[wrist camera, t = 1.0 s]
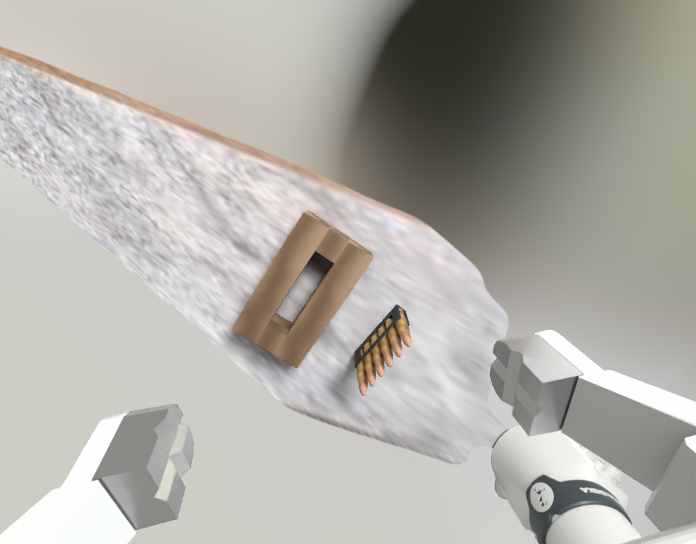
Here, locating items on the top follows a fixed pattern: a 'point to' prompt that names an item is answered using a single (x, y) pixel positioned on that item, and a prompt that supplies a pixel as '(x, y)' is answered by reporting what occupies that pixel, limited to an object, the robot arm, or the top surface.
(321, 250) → the slotted wooden block
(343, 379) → the top surface
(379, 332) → the ammunition clip
